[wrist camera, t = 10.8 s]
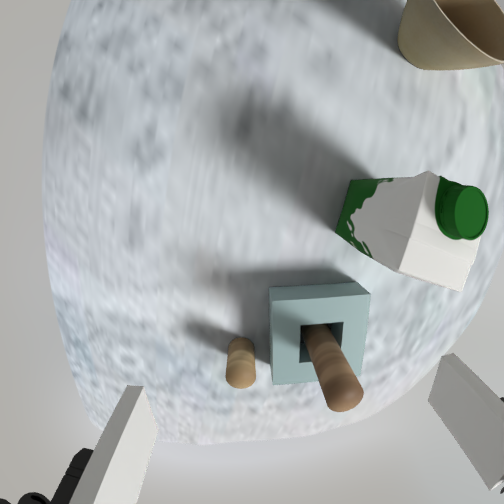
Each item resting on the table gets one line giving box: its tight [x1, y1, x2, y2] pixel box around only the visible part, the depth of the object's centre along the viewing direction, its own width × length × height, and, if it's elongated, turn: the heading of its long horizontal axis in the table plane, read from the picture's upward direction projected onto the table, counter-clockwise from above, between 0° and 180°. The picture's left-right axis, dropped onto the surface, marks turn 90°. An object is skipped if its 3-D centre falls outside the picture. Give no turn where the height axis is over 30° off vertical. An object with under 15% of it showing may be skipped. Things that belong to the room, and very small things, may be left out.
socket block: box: [269, 282, 371, 385], centre depth 37 cm, size 12×12×5 cm
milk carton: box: [335, 171, 489, 292], centre depth 27 cm, size 9×9×20 cm
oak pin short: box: [226, 338, 256, 389], centre depth 37 cm, size 4×4×7 cm
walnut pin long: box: [300, 323, 364, 412], centre depth 32 cm, size 4×4×16 cm
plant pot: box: [397, 0, 504, 70], centre depth 24 cm, size 15×15×16 cm
